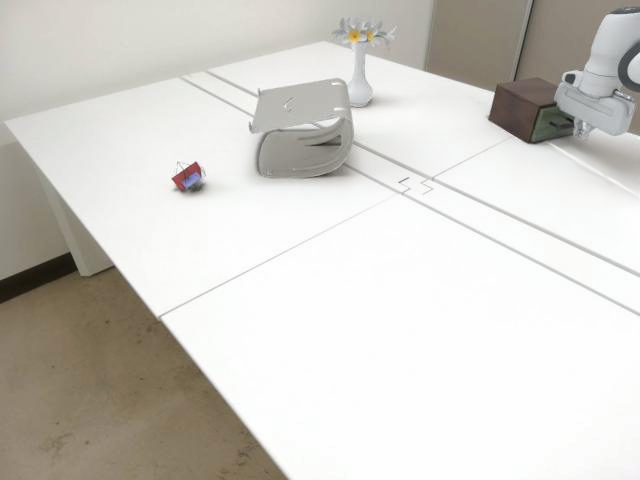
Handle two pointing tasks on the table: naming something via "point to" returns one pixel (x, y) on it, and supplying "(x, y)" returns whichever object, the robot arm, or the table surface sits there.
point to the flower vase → (361, 54)
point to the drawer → (552, 124)
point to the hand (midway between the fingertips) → (580, 137)
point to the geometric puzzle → (189, 176)
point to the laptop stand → (295, 147)
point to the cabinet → (521, 105)
